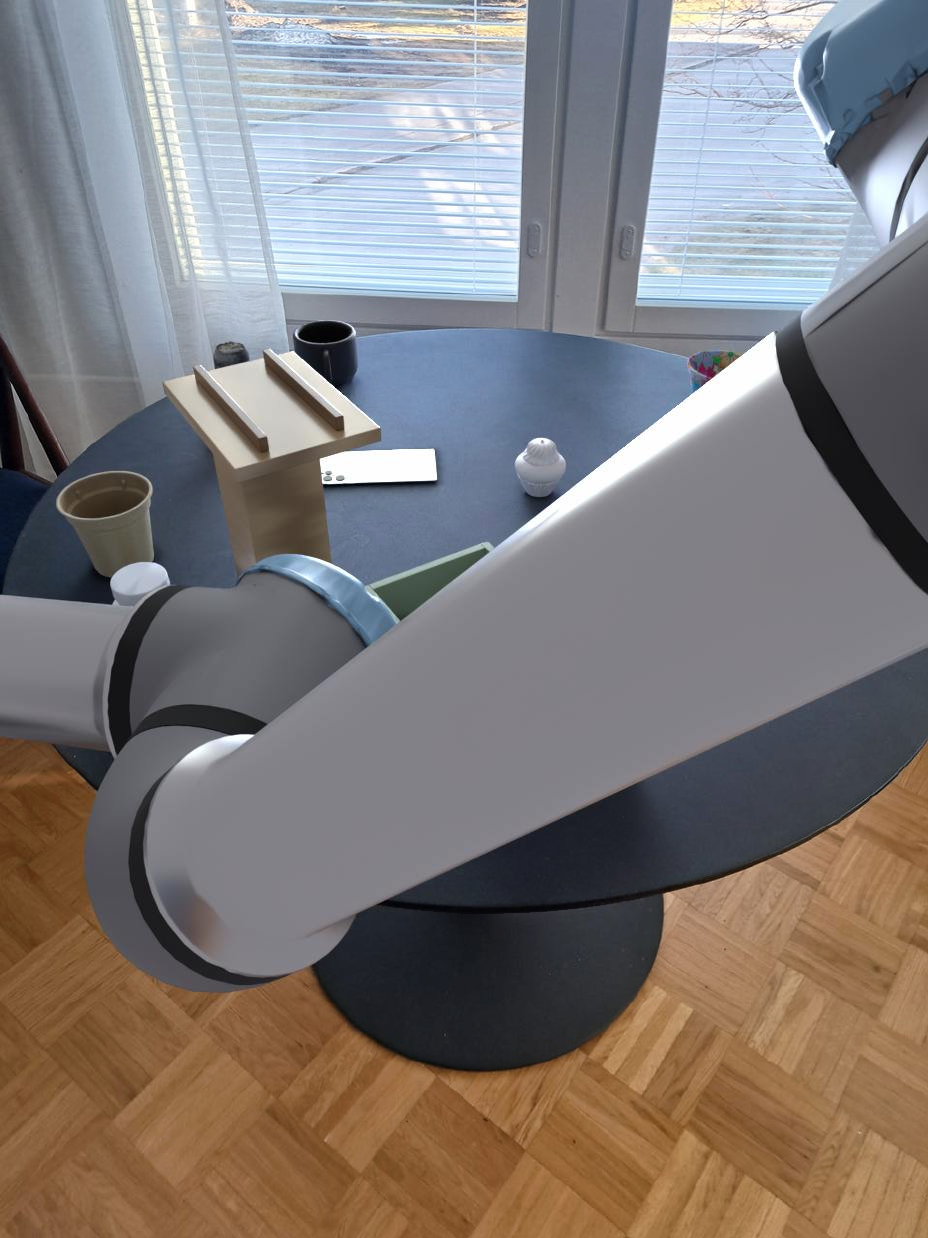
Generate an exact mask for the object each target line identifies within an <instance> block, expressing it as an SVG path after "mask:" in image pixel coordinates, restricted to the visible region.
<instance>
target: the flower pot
mask: <svg viewBox="0 0 928 1238" xmlns="http://www.w3.org/2000/svg"><path fill="white" fill-rule="evenodd" d="M153 490H154V489H153V485H152V482H151V481H150V479H148V478H147V477H146V476H144V475H142V474H140V473H137V472H134V471H133V472H132V471H128V470H127V471H126V470H110V471H109V470H108V471H103V472H99V473H98V472H97V473H93V474H89V475H87V476H84V477H81V478H79V479H76V480H75V481H72V482H71V483H69V484H68V485H67V486H65V487H64V488H62V490H61V491H60V492H59V493H58V496H57V497H56V501H55V506H56V510H57V511H58V512H59V513H60V514H61V515H62V516H63V517H65V519H66V521H67V522H68V523H69V524H70V525H71V526H72V527H73V529H74V531H75V532H76V535H77V536H78V538H79V541H80V542H81V543H82V547H84V549H85V551H86V553H87V555H88V557H89V559H90V561H91V563H92V565H93V568H94V569H95V571H97V573H99V574H100V575H101V576H103V577H107V578H112V577H113V575H114V574H115V573H116V572H117V571H119V570H120V569H122V568H123V567H126V566H128V565H131V564H134V563H140V562H151V563H153V561H154V558H155V551H154V545H153V544H154V543H153V534H152V525H151V515H150V514H151V513H150V507H151V503H152V501H151V497H152V495H153V493H154V491H153Z"/></svg>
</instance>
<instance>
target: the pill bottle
mask: <svg viewBox="0 0 928 1238" xmlns="http://www.w3.org/2000/svg"><path fill="white" fill-rule="evenodd" d="M109 585H110V589H111V593H112V597H113V598H114V600H113V602H112V604H111V605H117V606H128V607H134V606H135V605H136V604H137V603H138V602H139V601H140V600H141V599H142V598H143V597H144V596H145V595H147V594H148V593H149V592H151V591H153V590H155V589H156V588H159V587H162V586H165V585H171V582H170V578H169V574H168V572H167V570H166V568H165V567H163V566H162V565H161V564H160V563H159V564H158V563H156V562H152V563H151V562H140V563H134V564H131V565H128V566H126V567H123V568H122V569H120V570H119V571H117V572H116V573H115V574H114V575H113V577H111V578H110V584H109Z"/></svg>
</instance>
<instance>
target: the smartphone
mask: <svg viewBox="0 0 928 1238" xmlns="http://www.w3.org/2000/svg"><path fill="white" fill-rule="evenodd" d="M320 464H321V473H322V482H323V487H324V486H353V485H385V484H386V485H387V484H388V485H389V484H414V483H415V484H418V483H419V484H420V483H437V481H438V477H437V476H438V474H437V463H436V455H435V449H434V448H430V449H429V448H427V449H426V448H425V449H423V448H422V449H392V450H358V451H357V450H355V451H353V450H352V451H345V452H342V453H339V454H335V455H332V456H328V457H325V458H322V459H320Z"/></svg>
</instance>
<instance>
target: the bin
mask: <svg viewBox="0 0 928 1238" xmlns="http://www.w3.org/2000/svg"><path fill="white" fill-rule="evenodd" d="M494 548H495V547H494V546H493V545H492V544H491V543H490V542H489V541H485V542H481V543H479V544H476V545H473V546H471V547H468V548H466V549H463V550H460V551H457V552H454V553H452V554H448V555H446V556H444V557H441V558H438V559H435V560H433V561H430V562H427V563H424V564H421V565H420V566H416V567H414V568H411V569H408V570H405V571H403V572H399V573H398V574H395V575H392V576H389V577H386V578H382V579H381V580H379V581H378V580H377V581H375V582H373V583H370V584H368V585H364V588H365V590H366V591H367V592H368V593H370V594H371V595H372V596H374V597H377V598H378V599H380V601H381V602H382V603H383V604H384V605H385V607H386V608H387V609H388V611H389V612H390V614H391V615H392V617H393V619H394V620H395V622H396V624H398V623H399V622H400V620H401V619H403V618H406V617H407V616H408V615H409V614H411V613H412V612H413V611H415V610H416V609H417V608H418V607H420V606H421V605H422V604H424V603H425V602H426V601H427V600H429V599H430V598H431V597H433V596H434V595H435V594H436V593H438V592H439V591H440V590H442V589H443V588H444V587H446V586H447V585H448V584H449V583H451V582H452V581H453V580H455V579H456V578H457V577H458V576H460V575H461V574H462V573H464V572H465V571H466V570H467V569H469V568H470V567H471V566H473V565H474V564H475V563H476V562H478V561H479V560H480V559H482V558H483V557H484V556H485V555H487V554H488V553H489V552H491V551H492V550H493V549H494Z"/></svg>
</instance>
